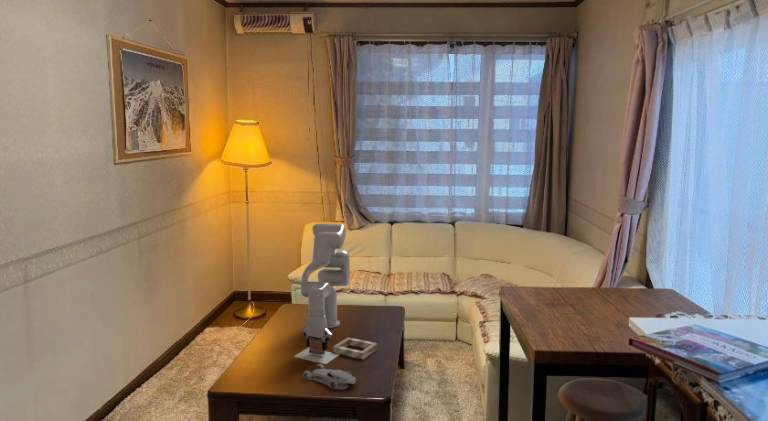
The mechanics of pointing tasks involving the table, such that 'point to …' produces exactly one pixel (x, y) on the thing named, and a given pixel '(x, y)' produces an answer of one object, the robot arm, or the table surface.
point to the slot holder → (368, 346)
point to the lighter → (315, 346)
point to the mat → (317, 356)
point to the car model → (331, 377)
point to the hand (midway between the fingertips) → (316, 347)
